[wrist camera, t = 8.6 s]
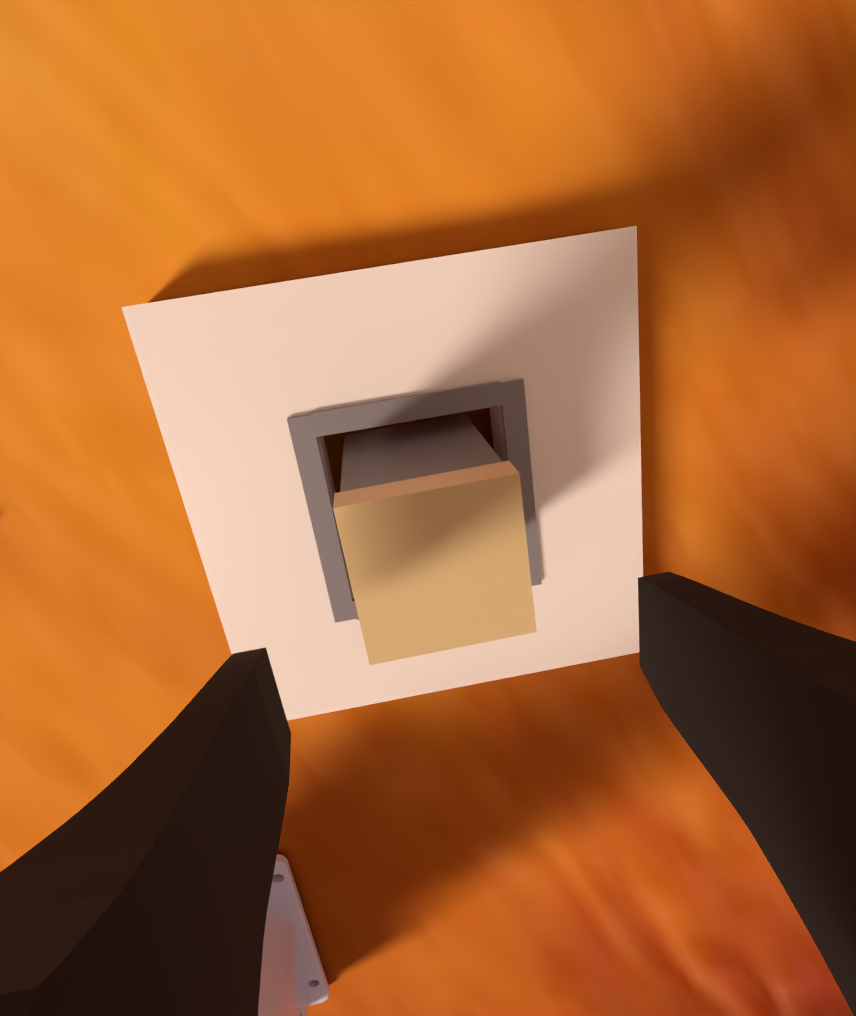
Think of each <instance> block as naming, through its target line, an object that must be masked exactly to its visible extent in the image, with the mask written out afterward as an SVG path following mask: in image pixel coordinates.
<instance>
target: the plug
mask: <svg viewBox="0 0 856 1016" xmlns="http://www.w3.org/2000/svg"><path fill="white" fill-rule="evenodd" d="M333 510H334V514H335V519H336V523H337V527H338V532H339V536H340V540H341V544H342V549H343V553H344V557H345V562H346V566H347V570H348V574H349V579H350V583H351V587H352V592H353V596H354V600H355V604H356V609H357V613H358V617H359V621H360V626H361V630H362V634H363V639H364V643H365V647H366V651H367V656H368V660H369V664H370V665H374V664H379V663H384V662H389V661H394V660H399V659H404V658H409V657H414V656H419V655H424V654H429V653H434V652H439V651H444V650H449V649H454V648H459V647H464V646H469V645H474V644H479V643H484V642H489V641H494V640H499V639H504V638H509V637H514V636H519V635H524V634H529V633H534V632H537V631H536V621H535V612H534V603H533V594H532V584H531V575H530V566H529V557H528V547H527V538H526V529H525V520H524V511H523V501H522V492H521V483H520V474H519V472H518V471H517V470H516V468H515V467H514V466H513V465H512V464H511V462H510V461H504V462H502V460H501V459H500V458H499V457H498V455H497V454H496V453H495V452H494V450H493V449H492V448H491V446H490V445H489V444H488V443H487V441H486V440H485V439H484V438H483V436H482V435H481V434H480V432H479V431H478V430H477V429H476V427H475V426H474V425H473V424H472V422H471V421H470V420H469V419H468V417H467V416H466V415H465V413H460V414H455V415H449V416H444V417H438V418H433V419H427V420H422V421H417V422H411V423H406V424H400V425H395V426H389V427H384V428H378V429H373V430H367V431H362V432H356V433H351V434H345V435H344V445H343V458H342V472H341V485H340V492H338V493H335V494H334V504H333Z"/></svg>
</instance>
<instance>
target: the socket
mask: <svg viewBox="0 0 856 1016" xmlns="http://www.w3.org/2000/svg"><path fill="white" fill-rule="evenodd" d="M122 311H123V314H124V317H125V320H126V323H127V326H128V329H129V333H130V336H131V339H132V342H133V345H134V348H135V351H136V355H137V358H138V361H139V364H140V367H141V370H142V373H143V377H144V380H145V383H146V386H147V389H148V392H149V395H150V399H151V402H152V405H153V408H154V411H155V414H156V417H157V421H158V424H159V427H160V430H161V433H162V436H163V439H164V443H165V446H166V449H167V452H168V455H169V458H170V462H171V465H172V468H173V471H174V474H175V477H176V480H177V484H178V487H179V490H180V493H181V496H182V499H183V502H184V506H185V509H186V512H187V515H188V518H189V521H190V524H191V528H192V531H193V534H194V537H195V540H196V543H197V546H198V550H199V553H200V556H201V559H202V562H203V565H204V568H205V572H206V575H207V578H208V581H209V584H210V587H211V590H212V594H213V597H214V600H215V603H216V606H217V609H218V612H219V616H220V619H221V622H222V625H223V628H224V631H225V634H226V638H227V641H228V644H229V647H230V650H231V653H232V654H233V653H239V652H244V651H249V650H255V649H260V648H265V647H266V650H267V653H268V657H269V660H270V664H271V667H272V671H273V674H274V677H275V681H276V684H277V688H278V691H279V695H280V698H281V702H282V705H283V708H284V712H285V715H286V719H287V720H292V719H297V718H302V717H308V716H313V715H318V714H323V713H328V712H333V711H338V710H344V709H349V708H354V707H359V706H364V705H369V704H375V703H380V702H385V701H390V700H395V699H400V698H406V697H411V696H416V695H421V694H426V693H431V692H437V691H442V690H447V689H452V688H457V687H462V686H468V685H473V684H478V683H483V682H488V681H493V680H498V679H504V678H509V677H514V676H519V675H524V674H529V673H535V672H540V671H545V670H550V669H555V668H560V667H566V666H571V665H576V664H581V663H586V662H591V661H597V660H602V659H607V658H612V657H617V656H622V655H628V654H633V653H638V652H639V609H638V578H639V577H643V542H642V487H641V432H640V376H639V321H638V266H637V226H632V227H626V228H619V229H613V230H607V231H600V232H594V233H588V234H581V235H575V236H569V237H562V238H556V239H550V240H543V241H537V242H531V243H524V244H518V245H512V246H505V247H499V248H493V249H486V250H480V251H474V252H467V253H461V254H455V255H448V256H442V257H436V258H430V259H423V260H417V261H411V262H404V263H398V264H392V265H385V266H379V267H373V268H366V269H360V270H354V271H347V272H341V273H335V274H328V275H322V276H316V277H309V278H303V279H297V280H290V281H284V282H278V283H271V284H265V285H259V286H252V287H246V288H240V289H233V290H227V291H221V292H214V293H208V294H202V295H195V296H189V297H183V298H177V299H170V300H164V301H158V302H151V303H145V304H139V305H132V306H126V307H122ZM484 408H489V411H490V420H491V429H492V438H493V447H494V452H495V453H496V454H497V455H498V457H499V458H500V459H501V460H502V462H504V461H510V462H511V464H512V465H513V466H514V467H515V468H516V470H517V471H518V472H519V474H520V483H521V492H522V501H523V511H524V520H525V529H526V538H527V547H528V557H529V566H530V575H531V584H532V594H533V603H534V612H535V621H536V631H537V632H534V633H529V634H524V635H519V636H514V637H509V638H504V639H499V640H494V641H489V642H484V643H479V644H474V645H469V646H464V647H459V648H454V649H449V650H444V651H439V652H434V653H429V654H424V655H419V656H414V657H409V658H404V659H399V660H394V661H389V662H384V663H379V664H374V665H370V664H369V660H368V656H367V651H366V647H365V643H364V639H363V634H362V630H361V626H360V621H359V617H358V613H357V609H356V604H355V600H354V596H353V592H352V587H351V583H350V579H349V574H348V570H347V566H346V562H345V557H344V553H343V549H342V544H341V540H340V536H339V532H338V527H337V523H336V519H335V514H334V510H333V504H334V494H335V493H336V491H335V486H334V481H333V477H332V472H331V468H330V463H329V458H328V454H327V449H326V444H325V440H324V436H326V435H332V434H338V433H344V432H349V431H355V430H361V429H367V428H373V427H379V426H385V425H390V424H396V423H402V422H408V421H414V420H420V419H425V418H431V417H437V416H443V415H449V414H455V413H460V412H466V411H472V410H478V409H484Z"/></svg>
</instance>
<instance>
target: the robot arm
mask: <svg viewBox="0 0 856 1016" xmlns="http://www.w3.org/2000/svg"><path fill="white" fill-rule="evenodd" d="M638 609H639V654H640V667H641V669H642V671H643V673H644V675H645V677H646V679H647V681H648V682H649V684H650V686H651V688H652V690H653V692H654V694H655V695H656V697H657V699H658V701H659V703H660V704H661V706H662V708H663V710H664V711H665V713H666V714H667V715H668V717H669V718H670V720H671V721H672V723H673V724H674V725H675V727H676V728H677V730H678V731H679V732H680V734H681V735H682V736H683V738H684V739H685V741H686V742H687V743H688V745H689V746H690V748H691V749H692V750H693V752H694V753H695V754H696V756H697V757H698V758H699V760H700V761H701V763H702V764H703V765H704V767H705V768H706V769H707V771H708V772H709V773H710V775H711V776H712V778H713V779H714V780H715V782H716V783H717V784H718V786H719V787H720V788H721V790H722V791H723V793H724V794H725V795H726V797H727V798H728V799H729V801H730V802H731V803H732V805H733V806H734V808H735V809H736V810H737V812H738V813H739V815H740V816H741V818H742V819H743V821H744V822H745V824H746V825H747V827H748V828H749V830H750V831H751V833H752V834H753V836H754V838H755V839H756V841H757V843H758V845H759V846H760V848H761V850H762V851H763V853H764V855H765V856H766V858H767V860H768V861H769V863H770V865H771V866H772V868H773V870H774V872H775V873H776V875H777V877H778V878H779V880H780V882H781V883H782V885H783V887H784V888H785V890H786V892H787V894H788V896H789V897H790V899H791V901H792V903H793V904H794V906H795V908H796V910H797V912H798V913H799V915H800V917H801V919H802V920H803V922H804V924H805V926H806V928H807V929H808V931H809V933H810V935H811V936H812V938H813V940H814V942H815V944H816V945H817V947H818V949H819V951H820V953H821V954H822V956H823V958H824V960H825V962H826V964H827V966H828V968H829V969H830V971H831V973H832V975H833V977H834V979H835V981H836V983H837V985H838V986H839V988H840V990H841V992H842V994H843V996H844V998H845V1000H846V1001H847V1003H848V1005H849V1007H850V1009H851V1011H852V1013H853V1015H854V1016H856V642H855V641H851V640H848V639H845V638H842V637H839V636H836V635H833V634H830V633H827V632H824V631H821V630H818V629H815V628H812V627H810V626H807V625H804V624H801V623H798V622H795V621H793V620H790V619H787V618H785V617H782V616H779V615H777V614H774V613H772V612H769V611H767V610H764V609H761V608H759V607H756V606H754V605H751V604H749V603H747V602H744V601H742V600H739V599H737V598H734V597H732V596H730V595H727V594H725V593H722V592H720V591H718V590H715V589H713V588H710V587H708V586H705V585H703V584H700V583H698V582H695V581H693V580H690V579H688V578H685V577H682V576H680V575H677V574H674V573H670V572H665V573H660V574H655V575H649V576H644V577H639V578H638ZM290 745H291V732H290V729H289V726H288V722H287V719H286V715H285V712H284V708H283V705H282V702H281V698H280V695H279V691H278V688H277V684H276V681H275V677H274V674H273V671H272V667H271V664H270V660H269V657H268V653H267V650H266V647H265V648H260V649H255V650H249V651H244V652H239V653H233V654H232V655H231V656H230V657H229V658H228V660H227V661H226V662H225V663H224V664H223V665H222V666H221V667H220V668H219V669H218V671H217V672H216V673H215V674H214V675H213V676H212V678H211V679H210V680H209V681H208V682H207V683H206V684H205V686H204V687H203V688H202V689H201V690H200V691H199V692H198V694H197V695H196V696H195V697H194V698H193V699H192V700H191V701H190V703H189V704H188V705H187V706H186V707H185V708H184V709H183V710H182V712H181V713H180V714H179V715H178V716H177V717H176V718H175V719H174V720H173V722H172V723H171V724H170V725H169V726H168V727H167V728H166V729H165V730H164V731H163V732H162V733H161V734H160V735H159V736H158V737H157V738H156V739H155V740H154V741H153V742H152V743H151V744H150V745H149V746H148V747H147V748H146V749H145V750H144V752H143V753H142V754H141V755H140V756H139V757H138V758H137V759H136V760H135V761H134V762H133V763H132V764H131V765H130V766H129V767H128V768H127V769H126V770H125V771H124V772H123V773H121V774H120V775H119V776H118V777H117V778H116V779H115V780H114V781H113V782H112V783H111V784H110V785H109V786H107V787H106V788H105V789H104V790H103V791H102V792H101V793H100V794H98V795H97V796H96V797H95V798H94V799H93V800H91V801H90V802H89V803H88V804H87V805H86V806H85V807H83V808H82V809H81V810H80V811H79V812H78V813H76V814H75V815H74V816H73V817H72V818H70V819H69V820H68V821H67V822H66V823H64V824H63V825H62V826H60V827H59V828H58V829H56V830H55V831H54V832H53V833H51V834H50V835H49V836H47V837H46V838H45V839H43V840H42V841H41V842H40V843H38V844H37V845H36V846H34V847H33V848H32V849H30V850H29V851H28V852H27V853H25V854H24V855H23V856H21V857H20V858H19V859H17V860H16V861H15V862H14V863H12V864H11V865H10V866H8V867H7V868H6V869H4V870H3V871H1V872H0V1016H307V1013H308V1006H309V1005H313V1004H318V1003H322V1002H324V1001H325V1000H327V998H328V997H329V985H328V982H327V979H326V976H325V973H324V970H323V967H322V964H321V961H320V958H319V955H318V951H317V948H316V945H315V942H314V939H313V936H312V933H311V930H310V927H309V924H308V921H307V918H306V915H305V912H304V909H303V905H302V902H301V899H300V896H299V893H298V890H297V887H296V884H295V881H294V878H293V875H292V872H291V869H290V866H289V863H288V860H287V858H286V857H284V856H283V855H280V854H277V851H278V845H279V840H280V834H281V828H282V822H283V816H284V810H285V804H286V799H287V792H288V786H289V770H290ZM277 874H281V875H277Z"/></svg>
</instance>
